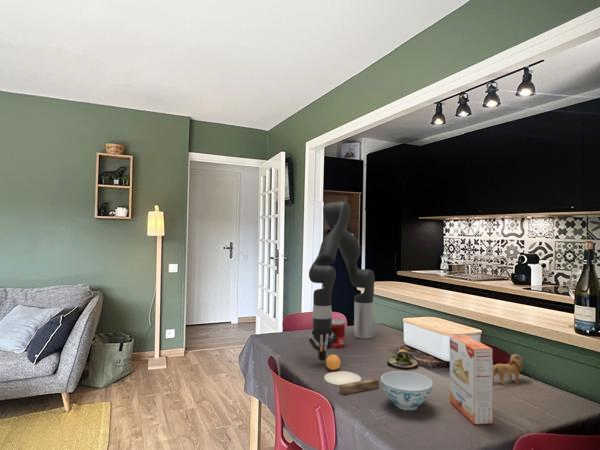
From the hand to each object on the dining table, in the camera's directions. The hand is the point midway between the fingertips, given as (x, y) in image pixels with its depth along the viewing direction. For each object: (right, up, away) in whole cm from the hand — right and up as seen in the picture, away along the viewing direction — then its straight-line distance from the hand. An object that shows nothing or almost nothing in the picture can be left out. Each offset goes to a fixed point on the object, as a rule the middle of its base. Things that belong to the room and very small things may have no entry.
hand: (321, 360), depth 151 cm
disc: (+7, -1, -15) cm, 16 cm away
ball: (+4, +1, -6) cm, 7 cm away
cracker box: (+41, -2, -40) cm, 57 cm away
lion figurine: (+64, -2, -17) cm, 66 cm away
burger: (+32, -2, 0) cm, 32 cm away
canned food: (+8, -2, +24) cm, 26 cm away
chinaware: (+23, -1, -36) cm, 43 cm away
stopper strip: (+11, -1, -25) cm, 27 cm away
